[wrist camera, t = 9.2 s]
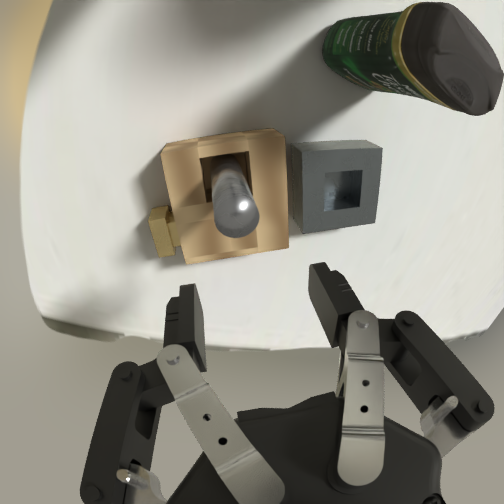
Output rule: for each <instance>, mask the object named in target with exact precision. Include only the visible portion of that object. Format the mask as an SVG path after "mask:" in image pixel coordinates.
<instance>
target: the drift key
mask: <svg viewBox="0 0 504 504" xmlns="http://www.w3.org/2000/svg"><path fill="white" fill-rule="evenodd" d="M148 223H149V226H150V230H151V233H152V237H153V240H154V243H155V246H156V250H157V253H158V256H159V258H160V257H166V256H172V255H175V250H176V246H181V243H180V239H179V235H178V231H177V227H176V223H175V219H174V215H173V211H172V212H170V211H169V207H168V205H167V206H161V207H156V208H152V211H151V214H150V217H149V220H148Z"/></svg>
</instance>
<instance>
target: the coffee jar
mask: <svg viewBox="0 0 504 504" xmlns="http://www.w3.org/2000/svg"><path fill="white" fill-rule="evenodd" d="M323 57H324V60H325V62H326V64H327V65H328V66H329V67H330V68H331V69H332V70H333V71H335V72H336V73H337V74H339V75H340V76H342V77H344V78H345V79H347V80H349V81H351V82H352V83H354V84H356V85H359V86H361V87H363V88H366V89H368V90H372V91H380V92H388V93H397V94H403V95H408V96H413V97H417V98H421V99H425V100H428V101H431V102H434V103H437V104H439V105H442V106H444V107H447V108H450V109H452V110H455V111H460V112H464V113H466V114H469V115H474V116H479V115H484V114H486V113H488V112H489V111H492V110H493V109H494V107H495V105H496V102H497V99H498V96H499V93H500V90H501V86H502V82H503V77H504V73H503V71H502V69H501V67H500V64H499V61H498V59H497V57H496V54H495V53H494V51H493V49H492V47H491V46H490V44H489V43H488V42H487V40H486V39H485V38H484V36H483V35H482V34H481V33H480V31H479V30H478V29H477V28H476V27H475V26H474V24H473V23H472V22H471V21H470V20H469V19H468V18H467V17H466V16H465V15H464V14H463V13H462V12H461V11H460V10H459V9H458V8H456V7H455V6H453V5H451V4H449V3H443V2H419V3H415V4H412V5H410V6H409V7H407V8H406V9H405V10H404V11H401V12H395V13H386V14H378V15H370V16H360V17H352V18H347V19H342V20H339V21H337V22H336V23H334V24H333V26H332V27H331V28H330V30H329V32H328V34H327V36H326V38H325V41H324V45H323Z"/></svg>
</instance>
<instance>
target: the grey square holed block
mask: <svg viewBox="0 0 504 504" xmlns="http://www.w3.org/2000/svg"><path fill="white" fill-rule="evenodd" d="M382 149H383V148H381V147H379V146H377V145H375V144H373V143H371V142H369V141H367V140H342V141H319V142H303V143H291V151H292V178H293V218H294V220H295V222H296V223H297V225H298V227H299V228H300V230H301V232H302V233H303V234H305V233H312V232H318V231H325V230H331V229H338V228H345V227H352V226H358V225H365V224H372V223H375V219H376V212H377V204H378V195H379V186H380V175H381V164H382Z"/></svg>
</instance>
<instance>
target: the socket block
mask: <svg viewBox="0 0 504 504" xmlns="http://www.w3.org/2000/svg"><path fill="white" fill-rule="evenodd" d="M230 153H231V154H232V155H234V156H235V157H236V158H237V160H238V162H239V165H240V167H241V170H242V172H243V174H244V177H245V179H246V182H247V184H248V186H249V189H250V191H251V194H252V196H253V198H254V201H255V203H256V206H257V208H258V211H259V215H260V218H259V223H258V225H257V227H256V228H255V230H254V231H253V232H251V233H250V234H249V235H247V236H244V237H241V238H230V237H227V236H225V235H223V234H222V233H220V232H219V231H218V229H217V228H216V225H215V222H214V211H213V199H212V188H211V175H210V162H211V160H212V158H213V157H214V156H216V155H223V154H230ZM160 155H161V160H162V165H163V170H164V175H165V179H166V184H167V189H168V193H169V198H170V202H171V206H172V211H173V215H174V219H175V223H176V227H177V231H178V235H179V239H180V243H181V247H182V251H183V255H184V259H185V262H186V265H187V264H193V263H199V262H205V261H212V260H218V259H224V258H230V257H236V256H243V255H249V254H255V253H261V252H267V251H274V250H280V249H286V248H289V230H288V195H287V170H286V149H285V136H283V135H282V134H281V133H279V132H278V131H276V130H275V129H274V128H271V129H260V130H251V131H242V132H234V133H226V134H219V135H212V136H206V137H200V138H194V139H188V140H183V141H177V142H172V143H167V144H166V145H165V147H164V149H163V151H162V152H161V154H160Z"/></svg>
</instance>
